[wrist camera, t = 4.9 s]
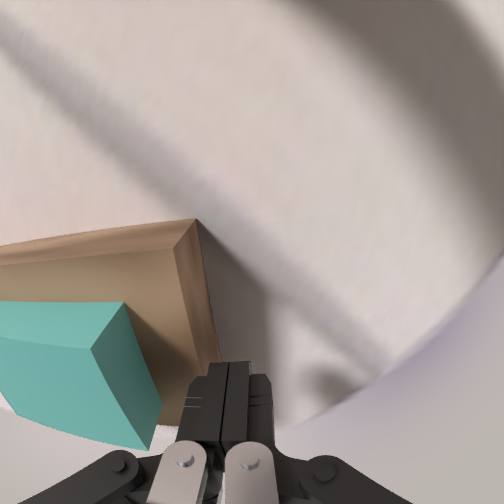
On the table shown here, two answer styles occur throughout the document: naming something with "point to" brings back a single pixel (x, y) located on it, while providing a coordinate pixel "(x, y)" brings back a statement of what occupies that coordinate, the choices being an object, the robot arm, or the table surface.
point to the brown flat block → (130, 293)
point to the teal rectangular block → (78, 370)
